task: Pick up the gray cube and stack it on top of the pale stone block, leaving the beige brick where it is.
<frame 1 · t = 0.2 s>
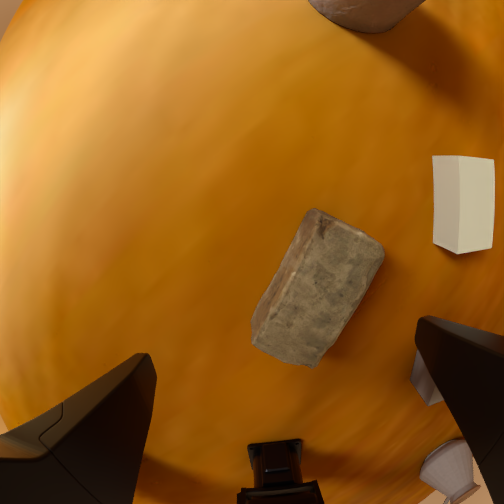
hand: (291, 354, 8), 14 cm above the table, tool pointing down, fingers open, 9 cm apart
stone block: (305, 279, 24), on the table
coffee pot: (427, 466, 36), on the table
gray cube: (430, 358, 27), on the table
beige brick: (451, 199, 22), on the table
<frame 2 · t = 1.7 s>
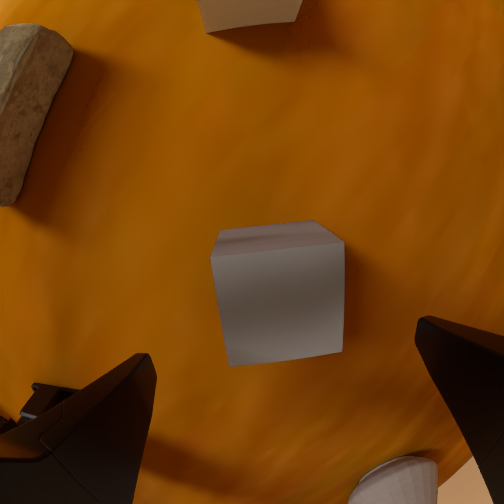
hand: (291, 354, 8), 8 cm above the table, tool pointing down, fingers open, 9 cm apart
stone block: (25, 117, 13), on the table
coffee pot: (369, 489, 25), on the table
gray cube: (271, 269, 16), on the table
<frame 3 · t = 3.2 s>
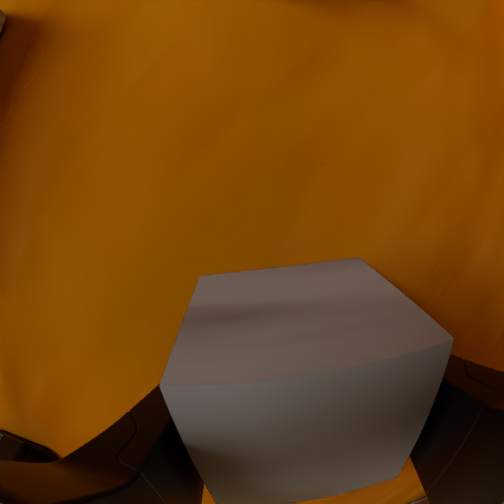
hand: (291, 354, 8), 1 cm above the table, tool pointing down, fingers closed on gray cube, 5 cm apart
gray cube: (286, 336, 9), on the table, touching gripper
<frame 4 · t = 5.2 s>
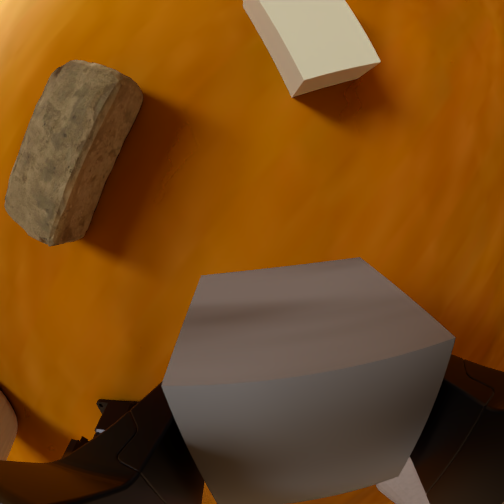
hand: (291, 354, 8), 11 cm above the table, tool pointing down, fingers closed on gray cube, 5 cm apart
stone block: (87, 153, 17), on the table
coffee pot: (392, 471, 29), on the table
gray cube: (287, 336, 9), point 10 cm above the table, touching gripper
beige brick: (300, 39, 15), on the table
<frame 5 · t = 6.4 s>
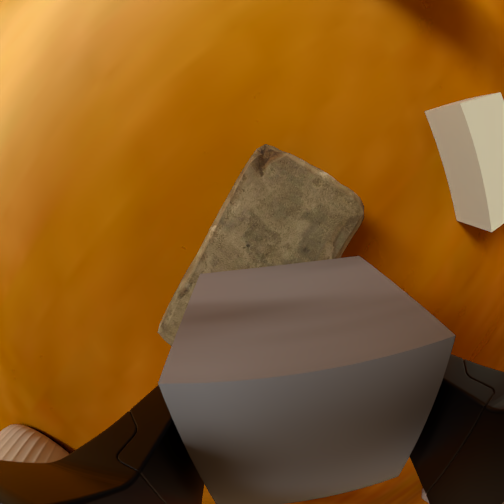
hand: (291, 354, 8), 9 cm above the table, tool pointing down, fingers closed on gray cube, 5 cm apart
stone block: (251, 252, 17), on the table
gray cube: (286, 335, 9), point 8 cm above the table, touching gripper
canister: (50, 450, 24), on the table
beige brick: (463, 157, 16), on the table
when the fingers open (7 cm above the table, at t = 7.4 s): gray cube drops 2 cm, resting on stone block.
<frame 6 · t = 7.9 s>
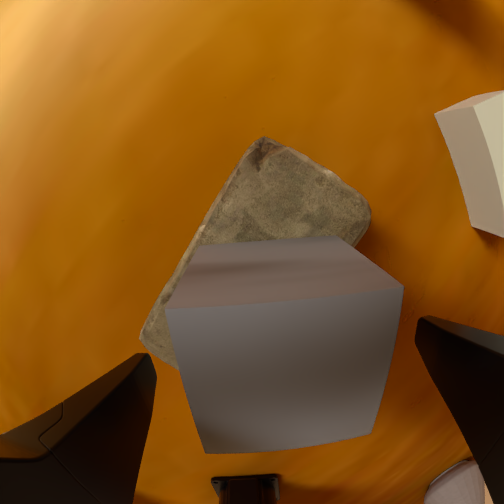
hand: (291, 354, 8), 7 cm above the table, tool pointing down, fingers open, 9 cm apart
stone block: (244, 255, 16), on the table, touching gray cube
coffee pot: (432, 488, 28), on the table
gray cube: (272, 303, 11), point 5 cm above the table, touching stone block
beige brick: (475, 158, 14), on the table
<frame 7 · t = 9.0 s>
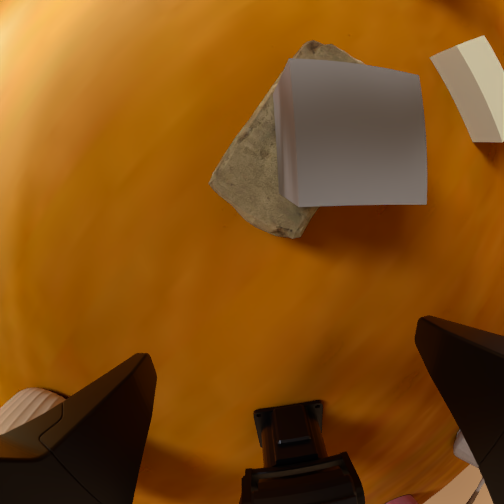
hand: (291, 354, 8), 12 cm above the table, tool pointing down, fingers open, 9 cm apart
stone block: (291, 140, 18), on the table, touching gray cube
coffee pot: (458, 440, 31), on the table
gray cube: (326, 142, 13), point 5 cm above the table, touching stone block
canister: (66, 418, 25), on the table
plant pot: (392, 503, 38), on the table
beige brick: (466, 91, 16), on the table
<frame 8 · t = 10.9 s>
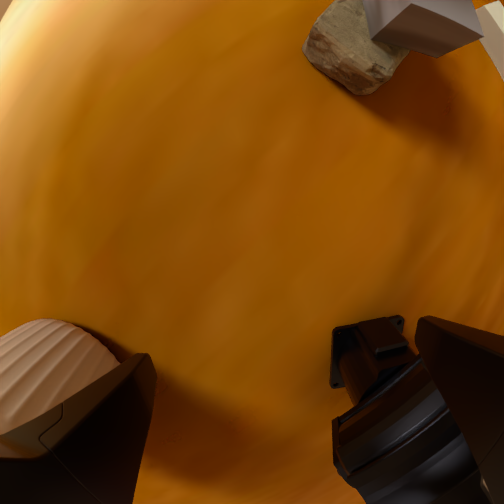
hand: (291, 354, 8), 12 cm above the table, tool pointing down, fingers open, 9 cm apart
stone block: (361, 36, 16), on the table, touching gray cube
gray cube: (399, 17, 11), point 5 cm above the table, touching stone block
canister: (80, 368, 23), on the table
beige brick: (491, 44, 15), on the table
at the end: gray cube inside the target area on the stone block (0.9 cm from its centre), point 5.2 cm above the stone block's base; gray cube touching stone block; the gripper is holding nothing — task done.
